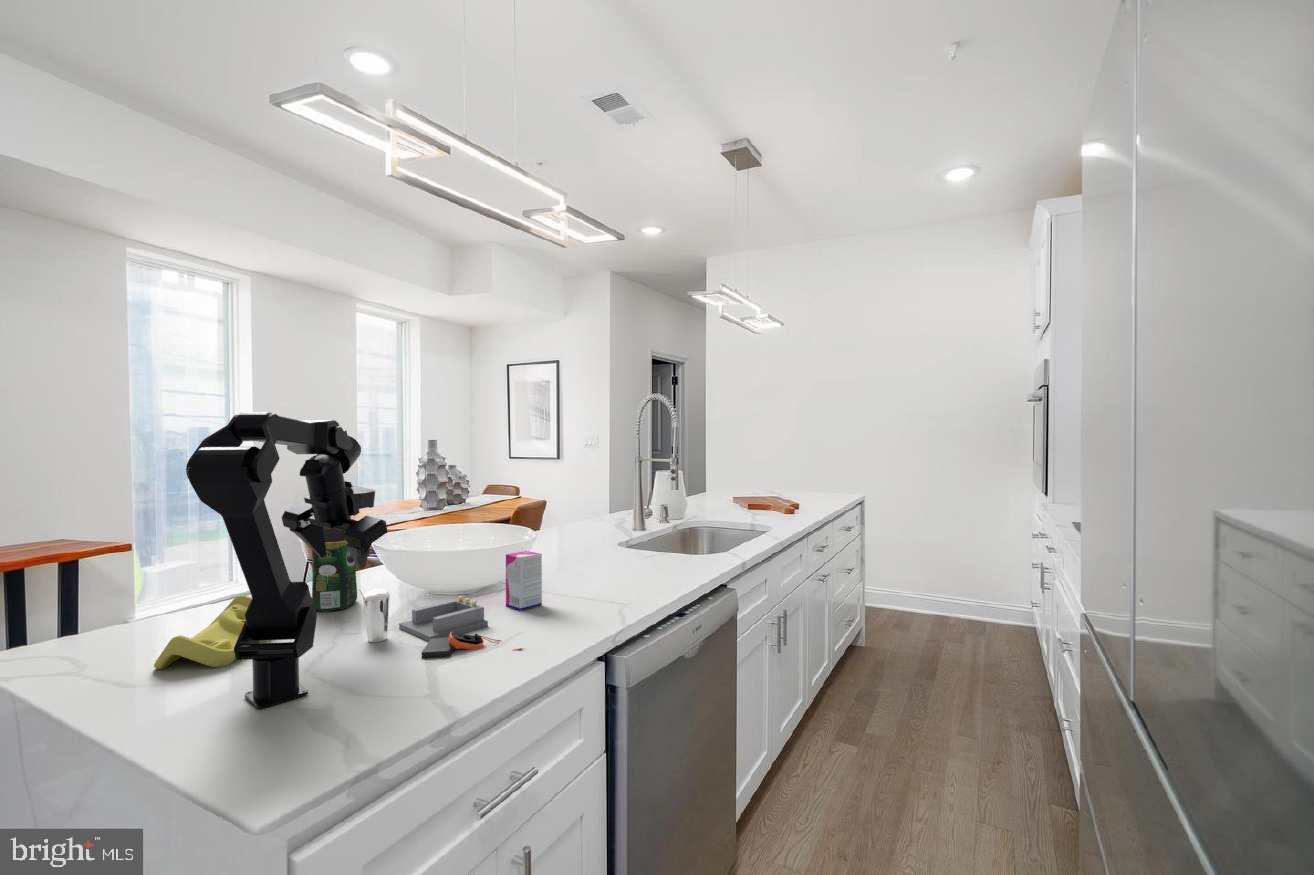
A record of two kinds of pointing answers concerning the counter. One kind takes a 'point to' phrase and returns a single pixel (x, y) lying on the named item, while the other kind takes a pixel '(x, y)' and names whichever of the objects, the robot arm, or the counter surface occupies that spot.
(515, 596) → the supplement box
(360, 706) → the counter surface
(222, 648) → the plastic component
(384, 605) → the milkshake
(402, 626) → the header socket
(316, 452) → the robot arm
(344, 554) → the coffee jar
